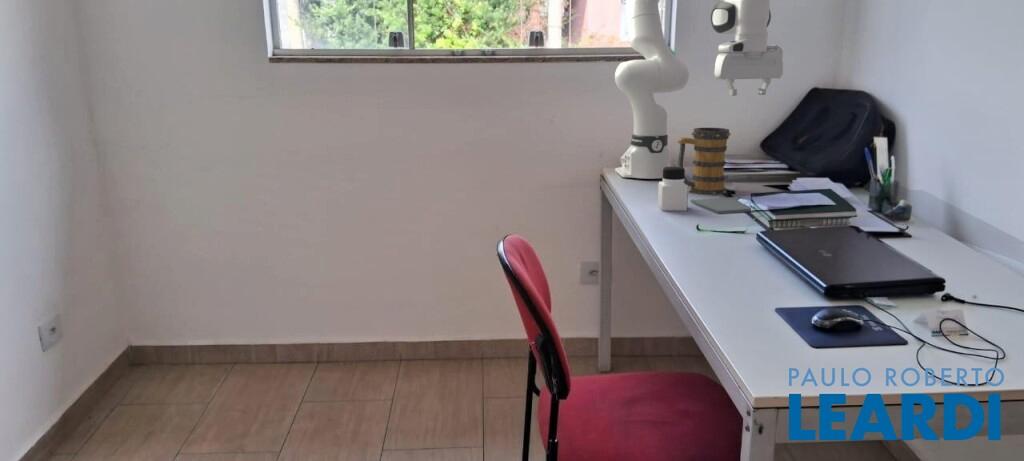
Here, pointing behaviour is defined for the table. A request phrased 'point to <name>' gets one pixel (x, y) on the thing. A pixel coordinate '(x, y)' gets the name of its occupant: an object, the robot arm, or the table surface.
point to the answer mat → (722, 205)
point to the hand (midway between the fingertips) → (747, 95)
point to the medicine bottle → (673, 190)
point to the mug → (706, 159)
